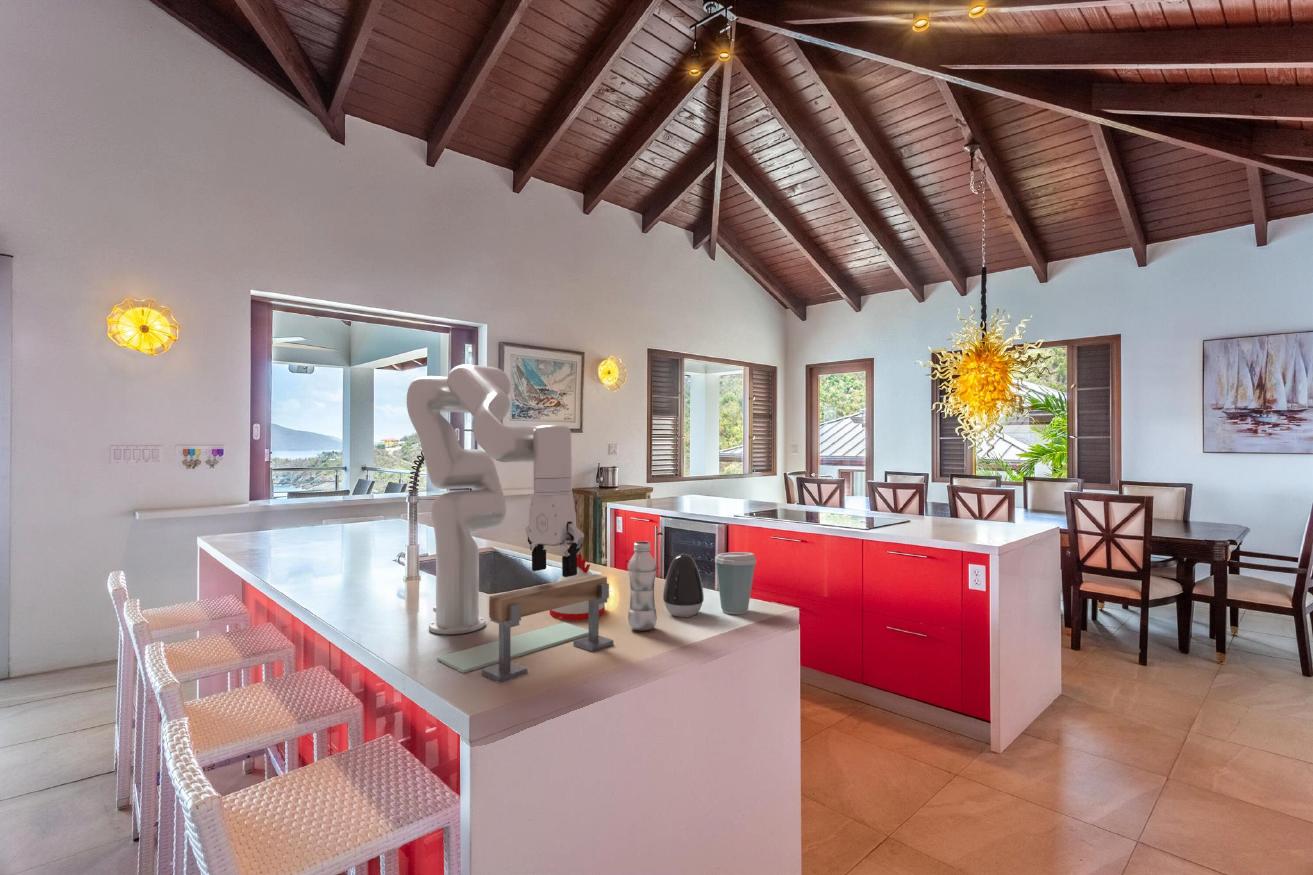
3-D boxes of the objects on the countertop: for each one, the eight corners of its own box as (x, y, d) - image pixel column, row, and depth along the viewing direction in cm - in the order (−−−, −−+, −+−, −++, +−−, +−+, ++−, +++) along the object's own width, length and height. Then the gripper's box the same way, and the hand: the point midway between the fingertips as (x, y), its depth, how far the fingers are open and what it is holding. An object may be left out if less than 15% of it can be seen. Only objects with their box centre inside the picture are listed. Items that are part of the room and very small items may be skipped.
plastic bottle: (653, 634, 137) (653, 545, 137) (624, 632, 138) (624, 544, 138) (659, 626, 143) (659, 540, 143) (631, 624, 144) (631, 539, 145)
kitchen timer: (576, 602, 164) (576, 547, 165) (615, 610, 156) (615, 552, 157) (538, 614, 153) (538, 554, 153) (578, 623, 145) (578, 560, 145)
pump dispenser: (711, 612, 155) (711, 552, 155) (691, 622, 146) (691, 559, 146) (676, 606, 160) (676, 548, 160) (655, 616, 151) (655, 554, 152)
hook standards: (479, 673, 114) (479, 601, 114) (592, 638, 134) (592, 576, 134) (501, 684, 109) (502, 608, 109) (615, 645, 129) (615, 581, 129)
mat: (437, 660, 121) (437, 657, 121) (564, 624, 144) (564, 622, 144) (463, 673, 114) (463, 670, 114) (592, 633, 137) (592, 631, 137)
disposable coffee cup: (705, 611, 155) (705, 552, 156) (730, 603, 163) (730, 547, 164) (740, 619, 148) (740, 558, 148) (764, 610, 156) (764, 552, 156)
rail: (489, 617, 113) (489, 596, 113) (594, 592, 133) (594, 574, 133) (501, 622, 111) (501, 599, 111) (606, 595, 130) (606, 576, 130)
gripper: (511, 486, 125) (513, 570, 124) (565, 489, 113) (567, 581, 113) (541, 484, 130) (542, 565, 130) (595, 487, 119) (597, 575, 118)
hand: (554, 572), depth 121 cm, fingers open, 9 cm apart
